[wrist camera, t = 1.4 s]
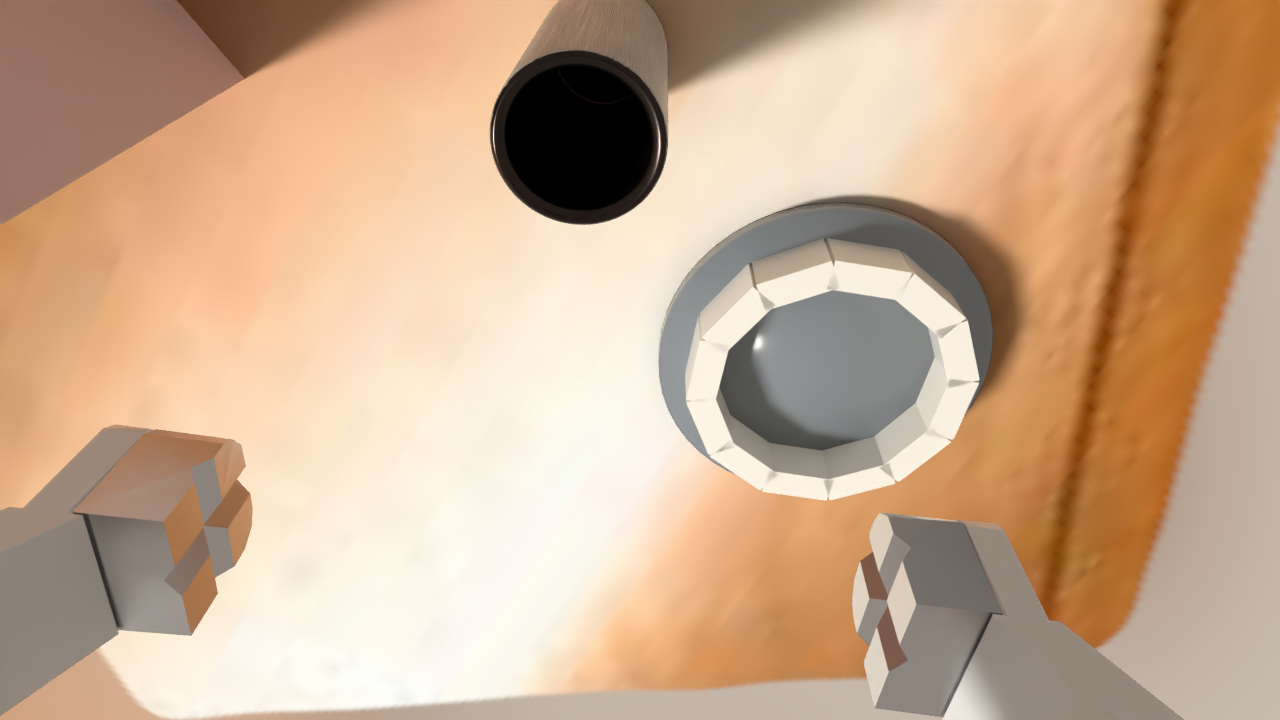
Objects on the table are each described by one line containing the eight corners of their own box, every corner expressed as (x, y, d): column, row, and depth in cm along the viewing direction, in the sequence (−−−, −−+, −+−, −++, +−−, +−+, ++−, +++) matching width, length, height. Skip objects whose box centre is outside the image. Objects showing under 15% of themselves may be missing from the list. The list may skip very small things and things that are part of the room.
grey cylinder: (613, -48, 28) (589, 9, 19) (693, 62, 30) (703, 159, 21) (513, 39, 30) (451, 127, 21) (595, 138, 32) (568, 258, 23)
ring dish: (692, 176, 32) (694, 203, 30) (1041, 233, 33) (1070, 264, 31) (635, 456, 40) (633, 496, 37) (921, 497, 41) (937, 538, 38)
